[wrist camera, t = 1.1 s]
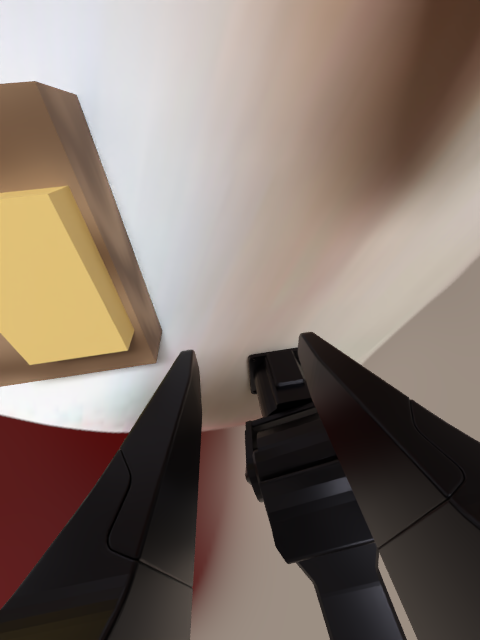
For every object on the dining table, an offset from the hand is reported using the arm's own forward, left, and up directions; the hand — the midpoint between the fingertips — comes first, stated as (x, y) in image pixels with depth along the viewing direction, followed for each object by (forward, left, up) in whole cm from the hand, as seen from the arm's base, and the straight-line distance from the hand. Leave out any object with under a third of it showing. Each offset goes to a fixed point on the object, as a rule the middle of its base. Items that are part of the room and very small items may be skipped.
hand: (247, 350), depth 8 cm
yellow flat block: (0, +10, -8) cm, 13 cm away
